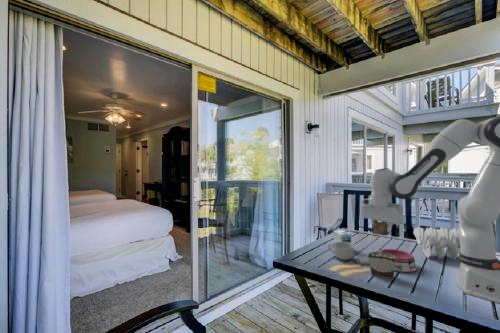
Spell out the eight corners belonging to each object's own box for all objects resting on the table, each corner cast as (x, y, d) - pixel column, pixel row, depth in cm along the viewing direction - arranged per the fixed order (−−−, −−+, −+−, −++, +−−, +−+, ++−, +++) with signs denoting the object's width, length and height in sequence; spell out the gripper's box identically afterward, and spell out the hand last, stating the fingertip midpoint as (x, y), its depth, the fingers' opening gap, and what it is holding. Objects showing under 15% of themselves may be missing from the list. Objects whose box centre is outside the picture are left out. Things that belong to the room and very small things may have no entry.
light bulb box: (352, 251, 153) (351, 234, 153) (342, 252, 152) (341, 234, 152) (343, 246, 164) (342, 229, 164) (333, 246, 163) (333, 230, 163)
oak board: (373, 272, 124) (373, 270, 124) (347, 279, 116) (347, 278, 116) (350, 263, 136) (350, 261, 136) (326, 269, 128) (326, 267, 128)
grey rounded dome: (376, 262, 134) (376, 260, 134) (368, 266, 129) (368, 264, 129) (361, 258, 141) (361, 256, 142) (352, 261, 136) (352, 259, 136)
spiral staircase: (473, 270, 133) (421, 264, 138) (456, 246, 148) (410, 242, 154) (484, 243, 125) (428, 238, 131) (465, 222, 140) (416, 218, 146)
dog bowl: (389, 257, 142) (389, 245, 143) (424, 268, 126) (424, 255, 126) (369, 263, 134) (368, 250, 134) (404, 276, 117) (403, 261, 118)
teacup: (356, 258, 142) (356, 244, 142) (349, 263, 134) (349, 248, 134) (333, 252, 151) (333, 239, 151) (325, 257, 143) (325, 243, 143)
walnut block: (389, 234, 118) (389, 223, 118) (383, 235, 116) (382, 224, 116) (380, 231, 123) (380, 221, 123) (373, 233, 121) (373, 222, 121)
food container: (397, 275, 118) (397, 254, 119) (397, 279, 113) (396, 258, 113) (369, 269, 125) (369, 250, 125) (367, 274, 120) (367, 253, 120)
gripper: (406, 203, 112) (407, 234, 112) (367, 199, 130) (368, 225, 130) (398, 204, 109) (398, 236, 109) (359, 200, 127) (359, 226, 127)
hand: (381, 230), depth 119 cm, fingers closed on walnut block, 5 cm apart
